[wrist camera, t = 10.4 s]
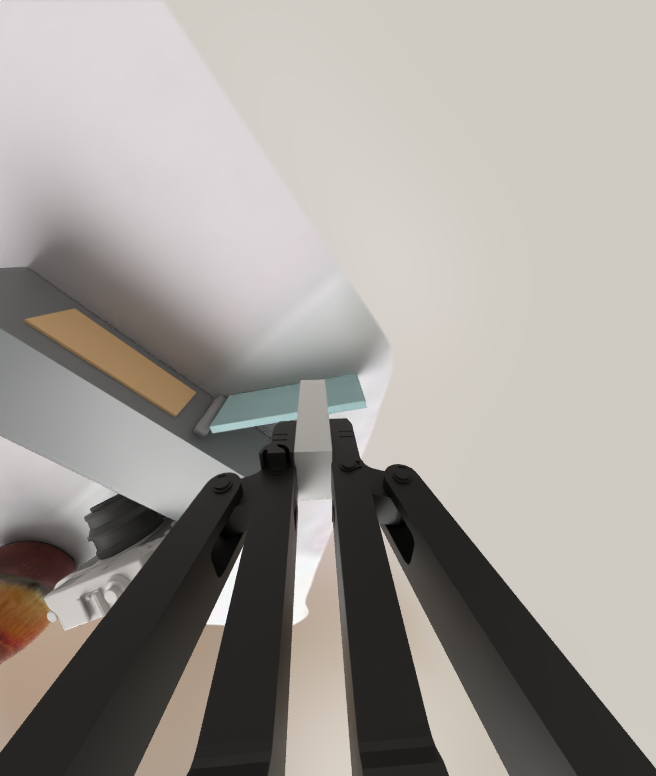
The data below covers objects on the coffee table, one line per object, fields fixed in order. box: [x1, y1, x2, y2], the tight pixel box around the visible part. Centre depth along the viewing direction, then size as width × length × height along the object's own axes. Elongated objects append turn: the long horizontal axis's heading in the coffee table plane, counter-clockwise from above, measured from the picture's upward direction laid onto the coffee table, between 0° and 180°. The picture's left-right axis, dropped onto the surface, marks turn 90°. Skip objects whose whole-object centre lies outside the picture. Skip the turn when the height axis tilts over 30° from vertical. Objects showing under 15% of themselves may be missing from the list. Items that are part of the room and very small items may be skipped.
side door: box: [193, 373, 366, 437], centre depth 21 cm, size 13×1×5 cm, turn 100°
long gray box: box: [0, 267, 272, 521], centre depth 21 cm, size 26×8×7 cm, turn 45°
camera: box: [44, 494, 177, 630], centre depth 25 cm, size 9×16×10 cm, turn 116°
